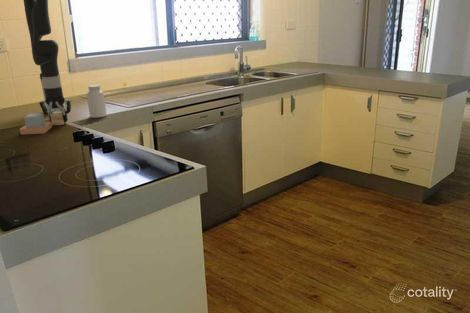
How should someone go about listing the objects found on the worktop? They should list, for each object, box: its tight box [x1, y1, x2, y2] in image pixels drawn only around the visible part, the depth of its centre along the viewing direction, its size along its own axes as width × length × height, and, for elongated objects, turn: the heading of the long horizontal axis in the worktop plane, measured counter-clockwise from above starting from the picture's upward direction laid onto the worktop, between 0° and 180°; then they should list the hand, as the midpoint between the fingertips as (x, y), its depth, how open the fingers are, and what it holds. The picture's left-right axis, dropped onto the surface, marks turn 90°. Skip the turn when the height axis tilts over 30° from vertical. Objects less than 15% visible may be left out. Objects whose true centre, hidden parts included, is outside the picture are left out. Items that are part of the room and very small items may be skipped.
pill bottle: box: [86, 84, 107, 119], centre depth 203 cm, size 8×8×15 cm
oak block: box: [50, 112, 66, 126], centre depth 192 cm, size 5×5×5 cm
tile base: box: [19, 121, 53, 135], centre depth 184 cm, size 10×10×2 cm
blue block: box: [23, 112, 46, 127], centre depth 183 cm, size 6×6×4 cm
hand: (59, 122), depth 193 cm, fingers closed on oak block, 5 cm apart
